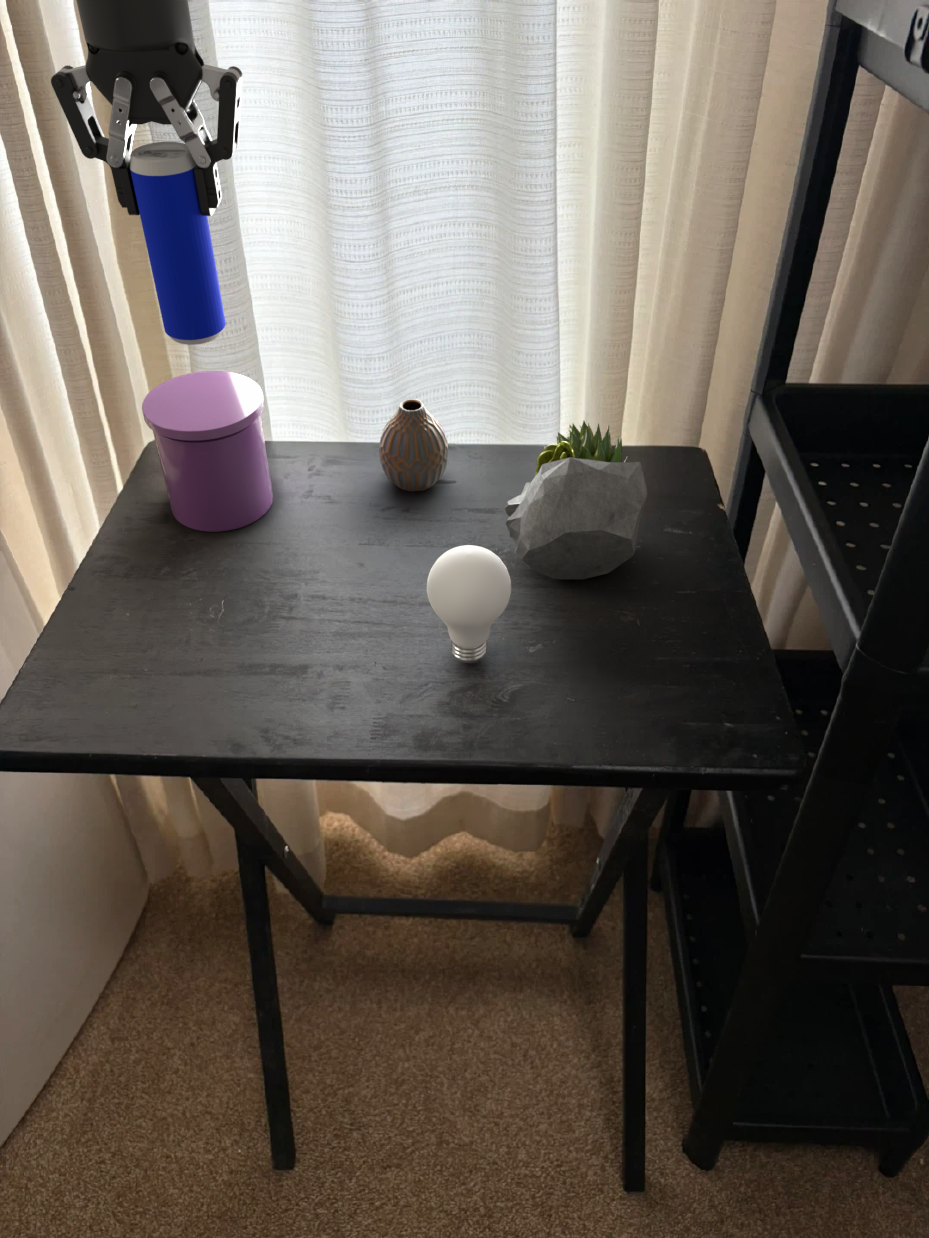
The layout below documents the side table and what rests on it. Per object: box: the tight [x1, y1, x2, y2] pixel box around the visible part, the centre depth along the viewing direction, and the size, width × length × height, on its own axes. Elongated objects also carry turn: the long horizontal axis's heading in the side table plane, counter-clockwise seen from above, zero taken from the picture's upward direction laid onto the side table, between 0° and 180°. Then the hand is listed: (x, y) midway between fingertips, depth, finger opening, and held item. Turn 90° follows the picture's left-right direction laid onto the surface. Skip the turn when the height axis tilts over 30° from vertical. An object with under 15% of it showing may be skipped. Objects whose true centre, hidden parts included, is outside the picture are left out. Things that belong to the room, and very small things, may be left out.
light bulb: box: [426, 544, 512, 664], centre depth 82 cm, size 7×7×11 cm
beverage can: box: [130, 141, 227, 346], centre depth 84 cm, size 5×5×15 cm
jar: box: [141, 370, 274, 533], centre depth 99 cm, size 11×11×12 cm
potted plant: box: [504, 419, 649, 580], centre depth 94 cm, size 12×13×15 cm
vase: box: [378, 398, 449, 492], centre depth 103 cm, size 7×7×9 cm
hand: (173, 211), depth 82 cm, fingers closed on beverage can, 5 cm apart
